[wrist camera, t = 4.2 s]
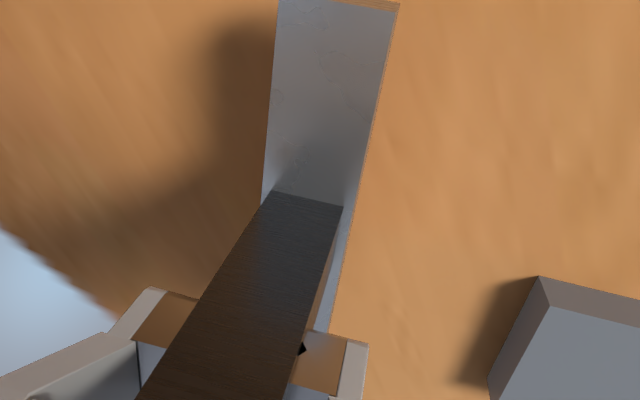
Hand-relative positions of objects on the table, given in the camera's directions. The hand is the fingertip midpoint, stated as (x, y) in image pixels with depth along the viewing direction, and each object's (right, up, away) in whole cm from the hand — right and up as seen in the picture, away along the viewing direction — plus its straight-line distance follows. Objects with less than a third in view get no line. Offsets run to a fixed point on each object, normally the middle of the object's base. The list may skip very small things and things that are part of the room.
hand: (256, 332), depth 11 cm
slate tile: (+14, -4, +11) cm, 19 cm away
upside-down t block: (+1, +3, +6) cm, 7 cm away
